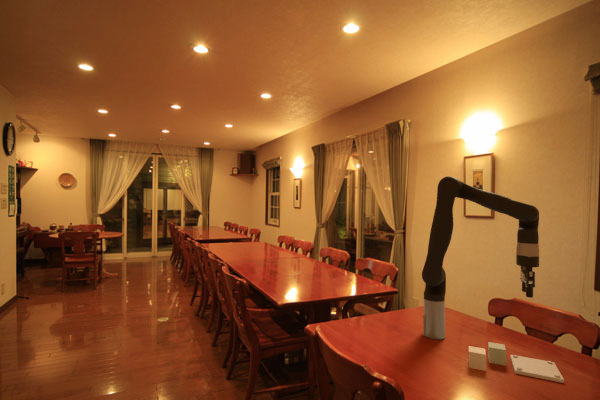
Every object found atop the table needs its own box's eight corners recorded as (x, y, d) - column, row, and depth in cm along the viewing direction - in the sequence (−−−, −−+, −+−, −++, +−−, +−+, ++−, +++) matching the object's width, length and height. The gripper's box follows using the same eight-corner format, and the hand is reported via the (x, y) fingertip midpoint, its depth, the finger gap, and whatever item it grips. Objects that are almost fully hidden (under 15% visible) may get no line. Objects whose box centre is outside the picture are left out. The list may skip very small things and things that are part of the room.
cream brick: (469, 367, 120) (468, 351, 120) (468, 361, 125) (468, 345, 125) (486, 371, 118) (485, 354, 118) (485, 364, 122) (485, 348, 123)
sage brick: (489, 362, 124) (488, 347, 124) (488, 356, 129) (488, 341, 129) (506, 366, 121) (506, 350, 122) (504, 359, 126) (504, 344, 126)
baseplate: (515, 373, 116) (515, 368, 116) (510, 357, 128) (510, 353, 128) (564, 383, 109) (563, 378, 109) (554, 365, 122) (553, 361, 122)
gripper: (513, 251, 137) (513, 289, 136) (519, 255, 124) (519, 297, 123) (535, 252, 133) (534, 291, 133) (543, 257, 120) (543, 300, 120)
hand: (527, 294), depth 128 cm, fingers open, 8 cm apart
